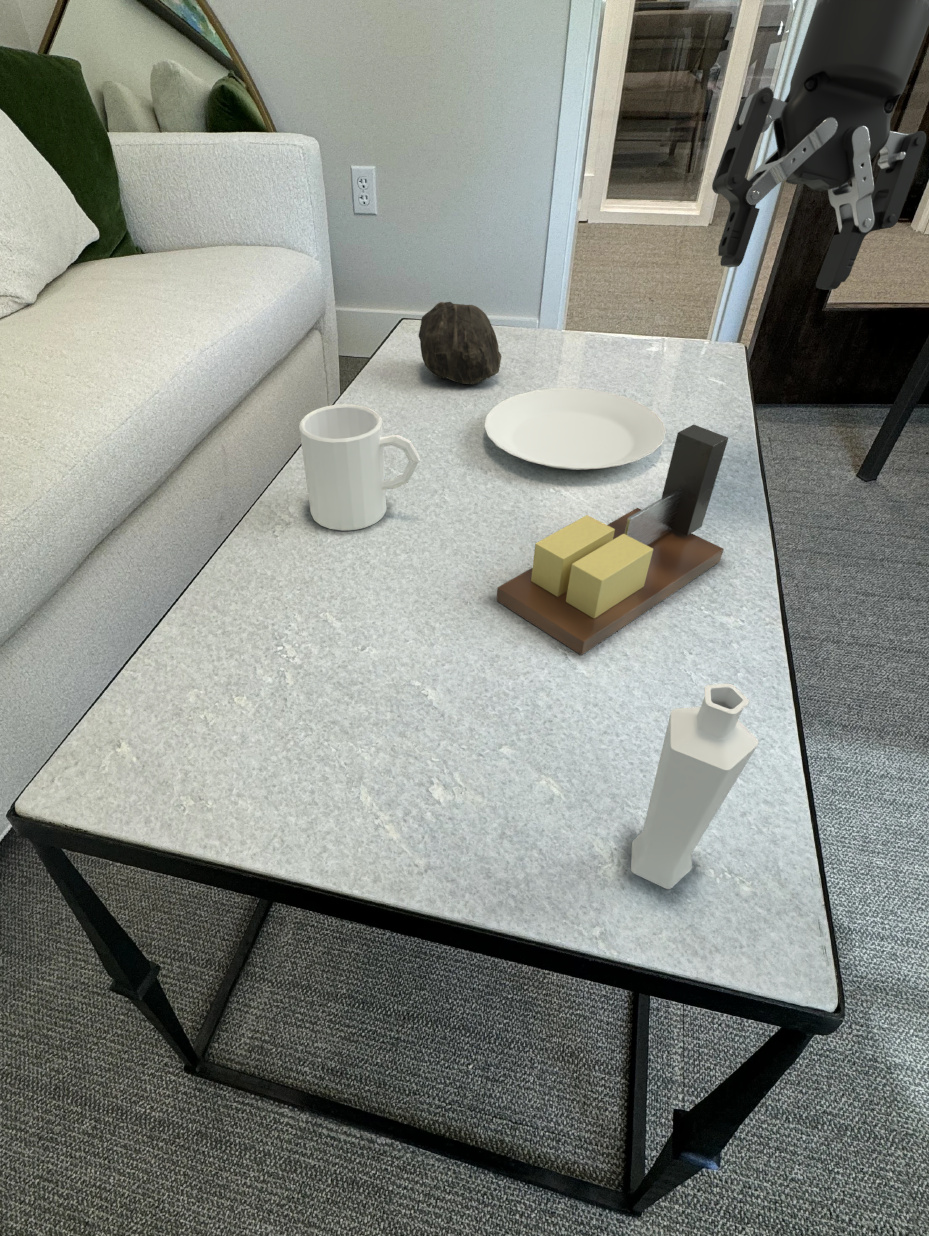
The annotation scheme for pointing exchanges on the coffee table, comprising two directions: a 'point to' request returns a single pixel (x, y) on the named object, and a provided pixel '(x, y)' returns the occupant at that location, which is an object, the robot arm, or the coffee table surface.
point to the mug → (349, 465)
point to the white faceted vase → (692, 782)
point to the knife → (682, 487)
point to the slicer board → (666, 574)
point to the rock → (459, 343)
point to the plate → (574, 428)
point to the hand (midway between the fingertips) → (778, 277)
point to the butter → (590, 565)
